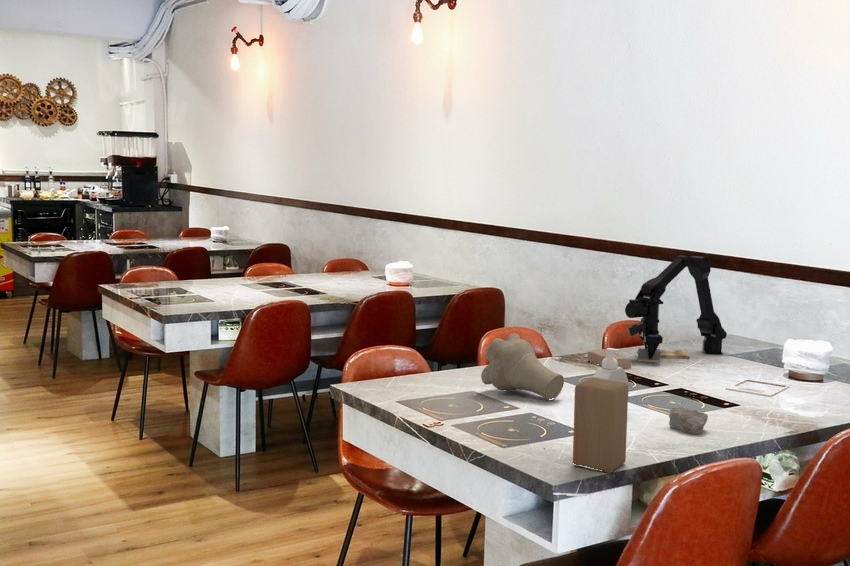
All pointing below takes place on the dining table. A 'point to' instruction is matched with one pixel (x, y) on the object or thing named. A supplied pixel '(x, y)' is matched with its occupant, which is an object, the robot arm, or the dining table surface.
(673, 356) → the oak board
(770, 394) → the photo frame
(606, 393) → the wooden block
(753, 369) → the dining table surface
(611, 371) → the soap bottle
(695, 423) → the stone
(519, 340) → the vase
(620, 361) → the brick
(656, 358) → the block
